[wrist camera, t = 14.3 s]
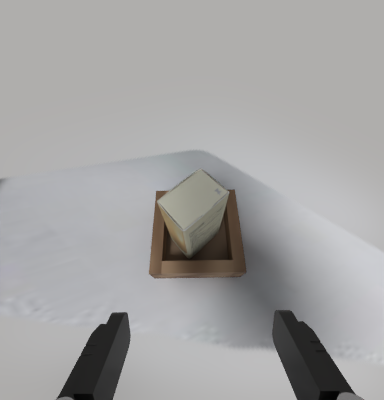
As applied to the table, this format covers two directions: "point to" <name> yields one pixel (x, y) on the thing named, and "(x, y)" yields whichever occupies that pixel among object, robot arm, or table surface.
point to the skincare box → (194, 211)
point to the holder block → (205, 258)
